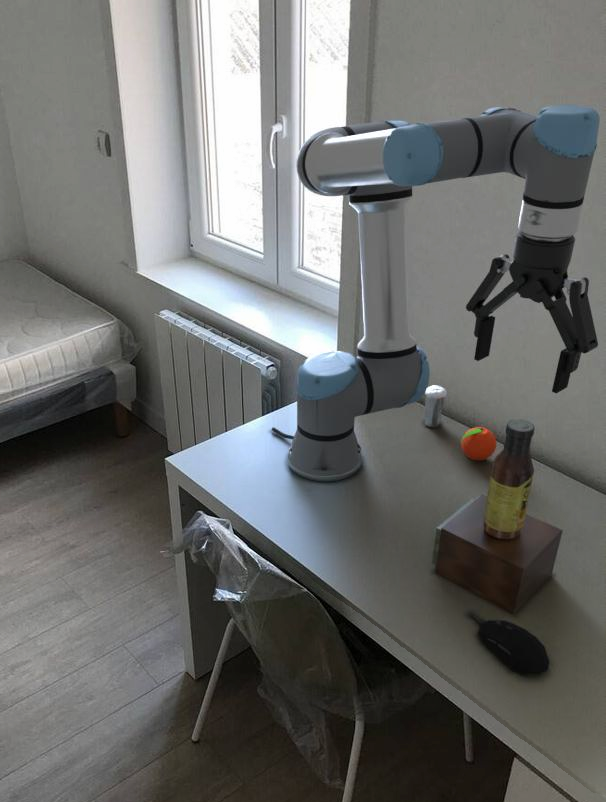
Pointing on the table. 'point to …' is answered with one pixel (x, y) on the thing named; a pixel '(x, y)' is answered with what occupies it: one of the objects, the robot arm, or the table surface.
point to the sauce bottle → (510, 482)
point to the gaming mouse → (514, 646)
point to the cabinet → (497, 557)
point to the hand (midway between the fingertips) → (518, 373)
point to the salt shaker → (434, 405)
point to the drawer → (438, 529)
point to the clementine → (478, 443)
